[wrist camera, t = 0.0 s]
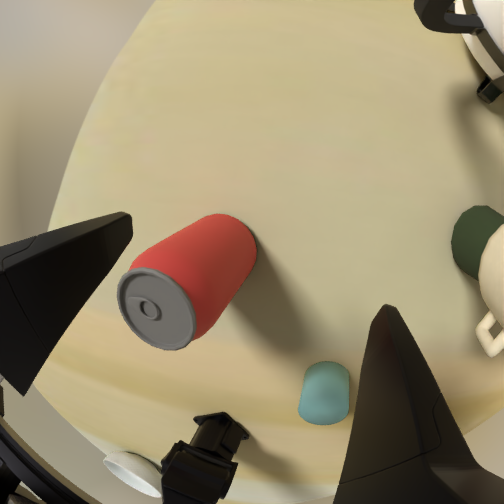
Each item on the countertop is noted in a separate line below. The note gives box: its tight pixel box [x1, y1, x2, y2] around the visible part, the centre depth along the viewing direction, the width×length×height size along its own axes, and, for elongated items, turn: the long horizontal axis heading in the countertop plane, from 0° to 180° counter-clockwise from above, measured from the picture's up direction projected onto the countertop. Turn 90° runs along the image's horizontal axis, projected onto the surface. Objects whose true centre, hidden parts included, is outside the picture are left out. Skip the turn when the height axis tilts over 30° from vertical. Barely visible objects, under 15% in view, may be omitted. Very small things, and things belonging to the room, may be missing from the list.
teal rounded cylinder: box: [298, 361, 349, 425], centre depth 26 cm, size 5×5×5 cm
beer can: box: [117, 214, 257, 350], centre depth 21 cm, size 7×7×12 cm
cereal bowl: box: [104, 451, 162, 497], centre depth 50 cm, size 17×17×7 cm
